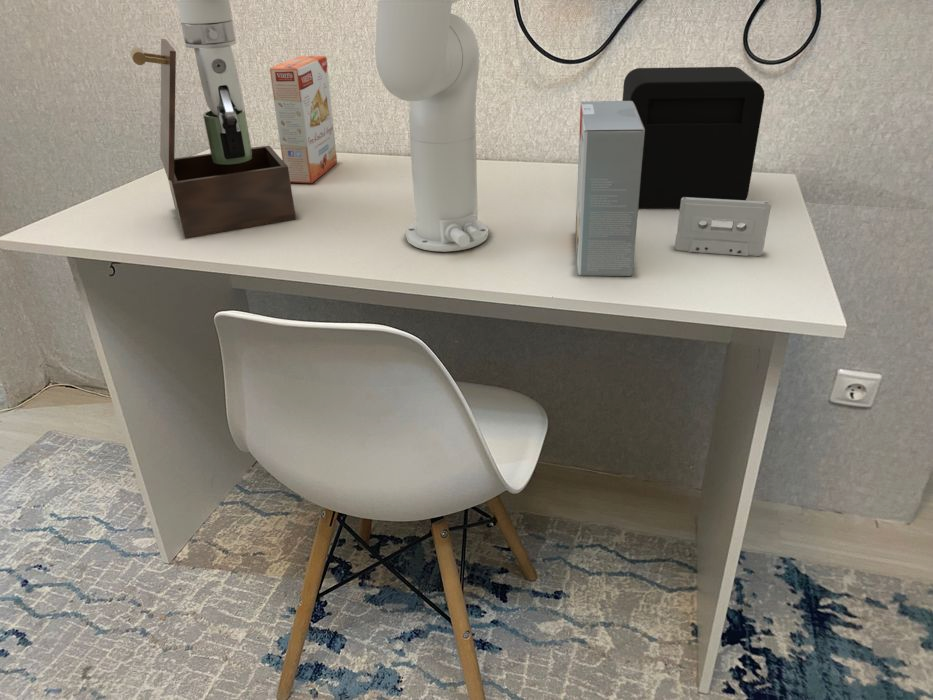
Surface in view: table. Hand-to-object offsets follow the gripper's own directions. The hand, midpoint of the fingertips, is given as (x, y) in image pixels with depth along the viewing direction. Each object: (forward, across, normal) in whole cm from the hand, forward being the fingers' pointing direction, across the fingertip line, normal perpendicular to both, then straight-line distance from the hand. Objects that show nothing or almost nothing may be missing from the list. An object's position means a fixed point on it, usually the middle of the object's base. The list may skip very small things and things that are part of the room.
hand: (231, 151), depth 121 cm
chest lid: (-8, 0, +8) cm, 11 cm away
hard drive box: (+11, -44, -44) cm, 63 cm away
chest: (+11, 0, +1) cm, 11 cm away
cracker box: (+11, +17, -17) cm, 26 cm away
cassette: (+11, -51, -59) cm, 78 cm away
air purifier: (+11, -28, -70) cm, 76 cm away
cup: (+1, 0, 0) cm, 1 cm away
